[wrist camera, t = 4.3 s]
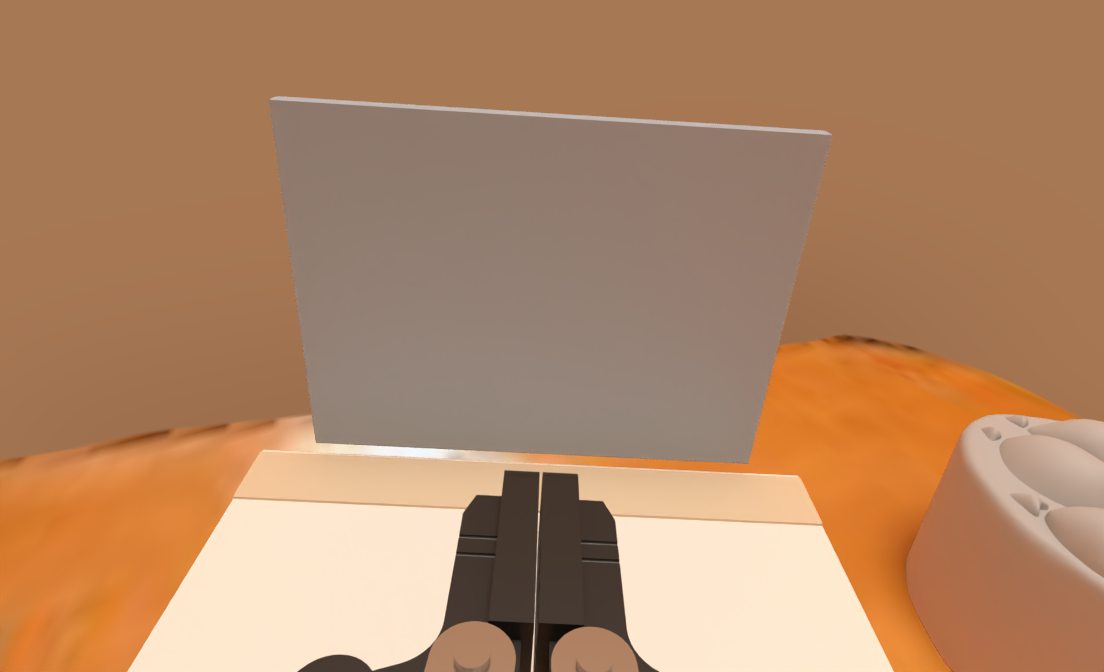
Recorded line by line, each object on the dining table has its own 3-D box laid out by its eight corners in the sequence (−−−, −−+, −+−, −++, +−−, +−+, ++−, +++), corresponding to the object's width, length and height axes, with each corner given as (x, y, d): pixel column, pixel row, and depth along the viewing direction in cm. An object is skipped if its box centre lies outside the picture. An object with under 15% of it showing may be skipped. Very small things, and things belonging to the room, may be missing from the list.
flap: (315, 442, 24) (268, 99, 19) (320, 432, 25) (276, 96, 19) (748, 463, 25) (832, 135, 19) (744, 453, 25) (825, 130, 19)
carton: (164, 828, 19) (109, 696, 16) (284, 565, 27) (262, 447, 24) (855, 851, 19) (923, 727, 17) (763, 586, 28) (798, 473, 25)
